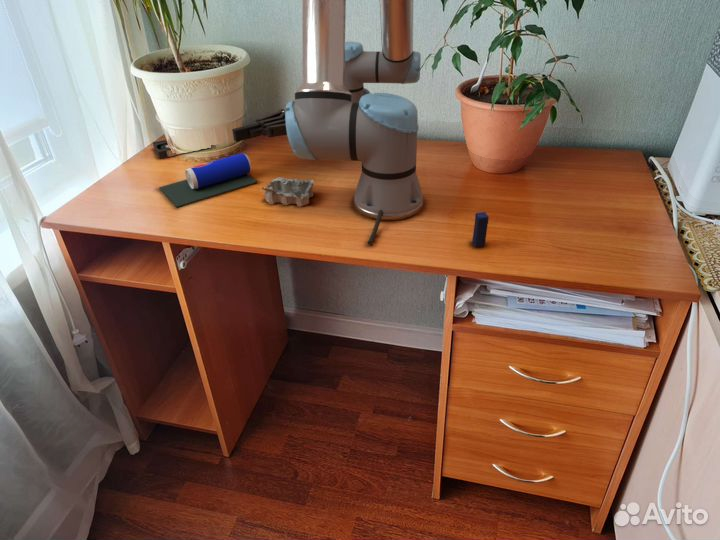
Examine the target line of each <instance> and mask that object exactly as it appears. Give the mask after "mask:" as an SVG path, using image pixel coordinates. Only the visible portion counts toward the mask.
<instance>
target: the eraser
mask: <svg viewBox="0 0 720 540" xmlns="http://www.w3.org/2000/svg"><path fill="white" fill-rule="evenodd" d="M489 219H490V217H489V215H488V214H487V212H486V211H482V212H476V213H475V216H474V225H473V233H472V245H473V247H474V248H484V247H485V244H486V240H487V234H488V233H487V232H488V226H489Z"/></svg>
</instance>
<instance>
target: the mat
mask: <svg viewBox="0 0 720 540" xmlns="http://www.w3.org/2000/svg"><path fill="white" fill-rule="evenodd" d="M257 182H258V181H257V180H255V179H254V178H253V177H252V176H250V174H246V175H242V176H239V177H236V178H232V179H229V180H226V181H222V182H219V183H216V184H212V185H209V186H206V187H202V188H199V189H192V188H191V187H190V185H189V183H188V181H187V179H183V180H180V181H176V182H174V183H173V182H172V183H170V184H167V185H163V186H159V190H160V191H161V192H162V193H163V195H164V196H165V197H166V198H167V199H168V200H169V201H170V202H171V203H172V205H174V206H175V208H176V209H177V208H181V207H184V206H188V205H192V204H194V203H197V202H201V201H204V200H207V199H211V198H214V197H217V196H220V195H222V194H223V195H224V194H226V193H229V192H232V191H236V190H239V189H242V188H245V187H249V186H253V185H255V184H258V183H257Z"/></svg>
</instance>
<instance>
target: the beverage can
mask: <svg viewBox="0 0 720 540" xmlns="http://www.w3.org/2000/svg"><path fill="white" fill-rule="evenodd" d="M252 170H253V166H252V162H251V159H250V157H249V156H248V154H246V153H243V152H241V153H238V154H233V155H230V156H227V157H223V158H220V159H216V160H212V161H209V162H205V163H201V164H198V165H194V166H190V167H189V168H187V169H185V172H184V174H185V178H186V180H187V181H188V183H189V185H190V187H191V188H192V189H199V188H202V187H206V186H209V185H212V184H216V183H219V182H222V181H226V180H229V179H232V178H236V177H239V176H242V175H246V174H248V175H250V173H251V172H252Z"/></svg>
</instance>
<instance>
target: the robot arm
mask: <svg viewBox="0 0 720 540" xmlns="http://www.w3.org/2000/svg"><path fill="white" fill-rule="evenodd" d="M301 2H302V5H301V6H302V10H301V11H302V14H301V15H302V20H301V21H302V26H301V27H302V31H301V32H302V35H301V36H302V39H301V40H302V42H301V43H302V49H301V51H302V53H301V54H302V57H301V58H302V59H301V61H302V64H301V67H302V71H301V73H302V75H301V76H302V80H301V81H302V82H301V84H300V86H299V87H298V88H297V89H295V91H294V100H291V101H288V102H287V104H286V106H285V109H284V108H280V109H279V110H277V111H275V112H273V113H272V112H271V113H270V114H266V115H264V116H261V117H258V118H255V119H254V120H255V123H252V124H247V125H243V126H239V127H235V128H232V129H231V131H232V136H233V141H235V142H237V143H238V142H241V141H242V142H243V141H244V140H245V141H246V140H249V139H253V138H256V137H260V136H261V137H268V138H275V137H276V138H277V137H281V136H282V137H283V136H287V139H288V143H289V146H290V148H291V150H292V152H293V154H294V155H295V156H296V157H297V158H299V159H302V160H314V162H315V161H316V162H317V161H338V162H340V161H341V162H361V173H360V175H359V179H358V183H357V185H356V189H355V190H354V191H355V192H354V196H353V204H354V209H355V210H356V211H357V212H358V213H359V214H360V215H362V216H364V217H367V218H370V219H374V220H375V222H374V226H373V228H372V231H371V234H370V236H369V239H368V241H367V244H368V246H372V245H373V242H374V240H375V238H376V236H377V233H378V229H379V226H380V223H381V221H398V220H399V221H400V220H405V219H407V218H410V217H413V216H415V215H416V214H418V213H419V212H420V211H421V210H422V208H423V207H424V194H423V190H422V187H421V184H420V180H419V178H418V174H417V156H418V155H417V154H418V153H417V152H418V151H417V150H418V131H419V127H420V126H419V118H418V113H419V112H418V108H417V106H416V104H415V103H414V102H412V101H411V100H409V99H408V98H406V97H403V96H402V95H401V96H400V95H398V94H393V93H389V92H388V93H387V92H374V93H371V92H370V90H369V89H368V88H366V87H365V85H364V84H399V85H400V84H401V85H406V84H416V83H418V82H419V81H420V77H421V56H422V55H421V52H419V51H415V50H414V0H379V18H380V20H379V21H380V38H381V39H380V40H381V51H371V50H370V51H364V47H363V44H362V43H361V42H359V41H346V20H347V19H346V18H347V17H346V16H347V13H346V12H347V0H302V1H301Z"/></svg>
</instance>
